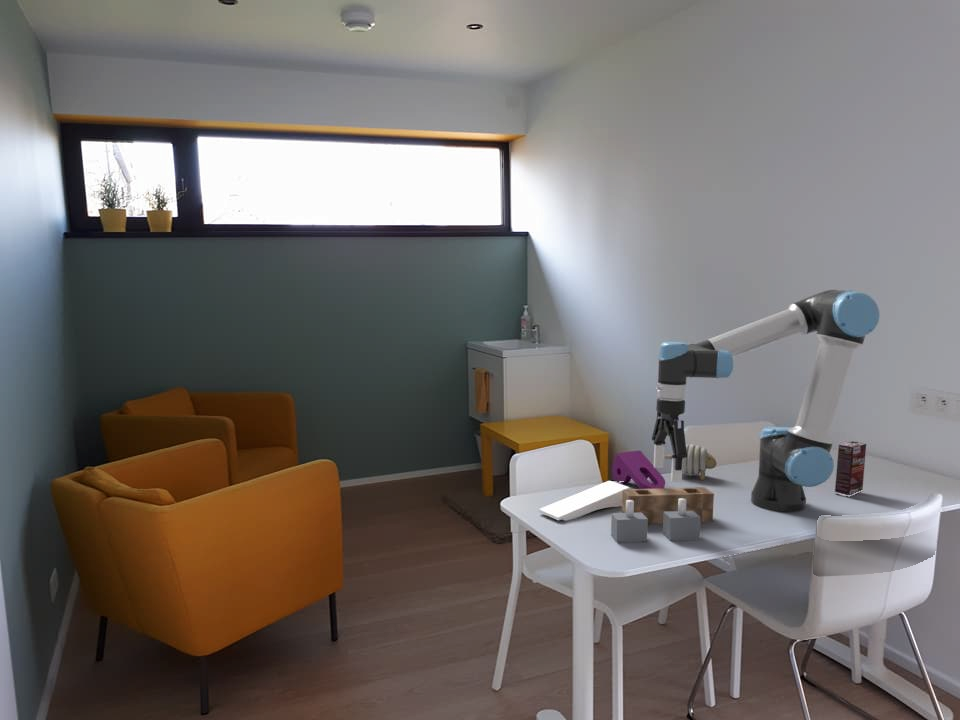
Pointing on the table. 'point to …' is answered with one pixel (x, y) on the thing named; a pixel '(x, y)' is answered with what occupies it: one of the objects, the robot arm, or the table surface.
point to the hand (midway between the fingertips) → (667, 474)
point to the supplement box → (850, 468)
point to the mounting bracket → (636, 470)
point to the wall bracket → (586, 501)
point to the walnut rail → (669, 502)
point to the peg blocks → (674, 524)
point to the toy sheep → (696, 461)
